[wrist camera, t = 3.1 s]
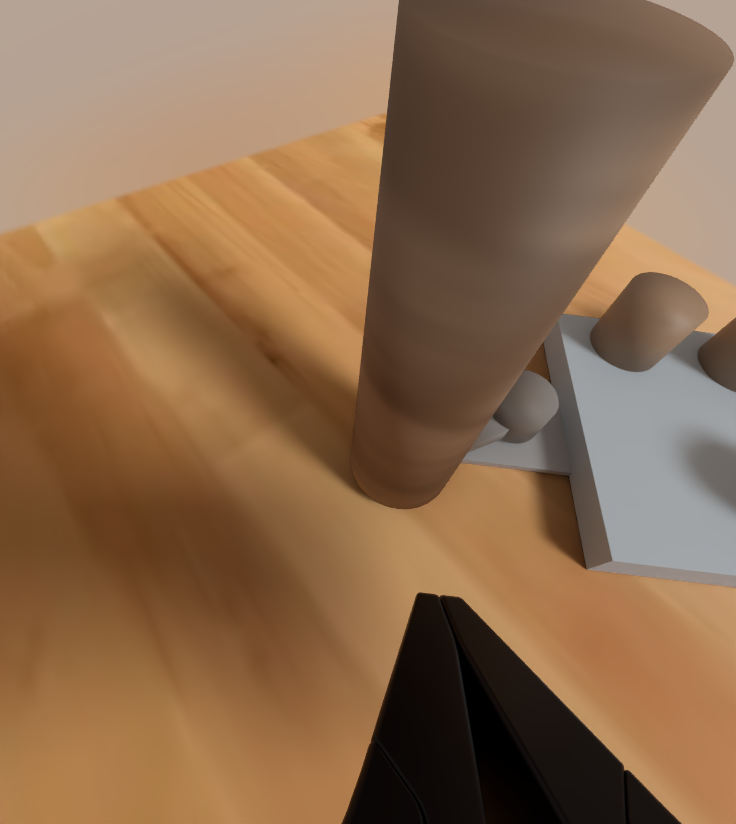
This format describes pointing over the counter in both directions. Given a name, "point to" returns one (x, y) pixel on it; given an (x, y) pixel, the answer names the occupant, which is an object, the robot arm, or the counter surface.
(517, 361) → the tall brown cylinder
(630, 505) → the grey flat piece
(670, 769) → the counter surface
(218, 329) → the counter surface
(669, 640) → the counter surface
